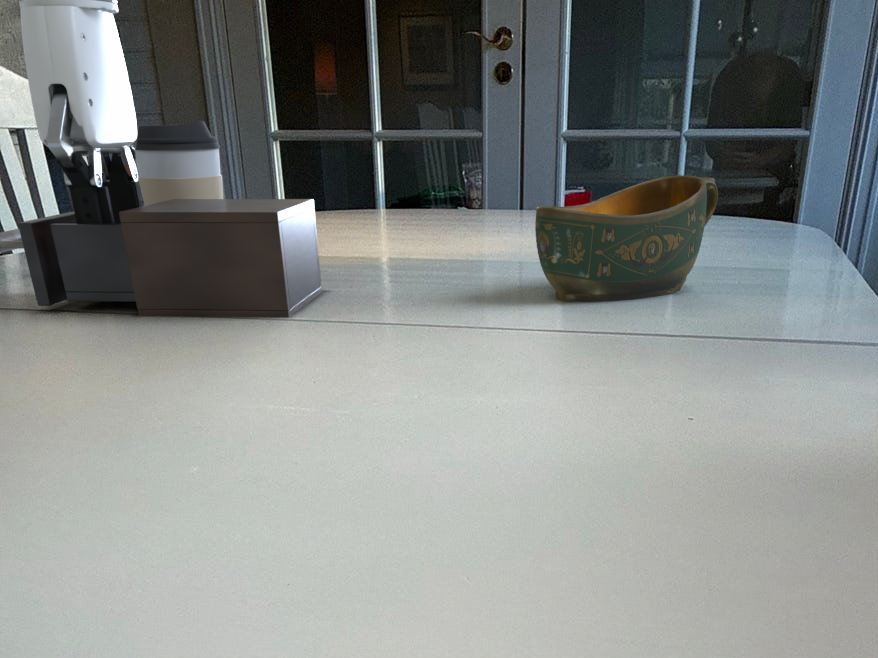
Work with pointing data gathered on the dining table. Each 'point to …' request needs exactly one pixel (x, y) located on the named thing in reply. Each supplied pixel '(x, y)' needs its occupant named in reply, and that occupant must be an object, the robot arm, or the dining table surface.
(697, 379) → the dining table surface
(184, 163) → the coffee cup
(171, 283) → the cabinet
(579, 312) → the dining table surface
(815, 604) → the dining table surface
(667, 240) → the creamer
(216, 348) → the dining table surface
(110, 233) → the drawer
